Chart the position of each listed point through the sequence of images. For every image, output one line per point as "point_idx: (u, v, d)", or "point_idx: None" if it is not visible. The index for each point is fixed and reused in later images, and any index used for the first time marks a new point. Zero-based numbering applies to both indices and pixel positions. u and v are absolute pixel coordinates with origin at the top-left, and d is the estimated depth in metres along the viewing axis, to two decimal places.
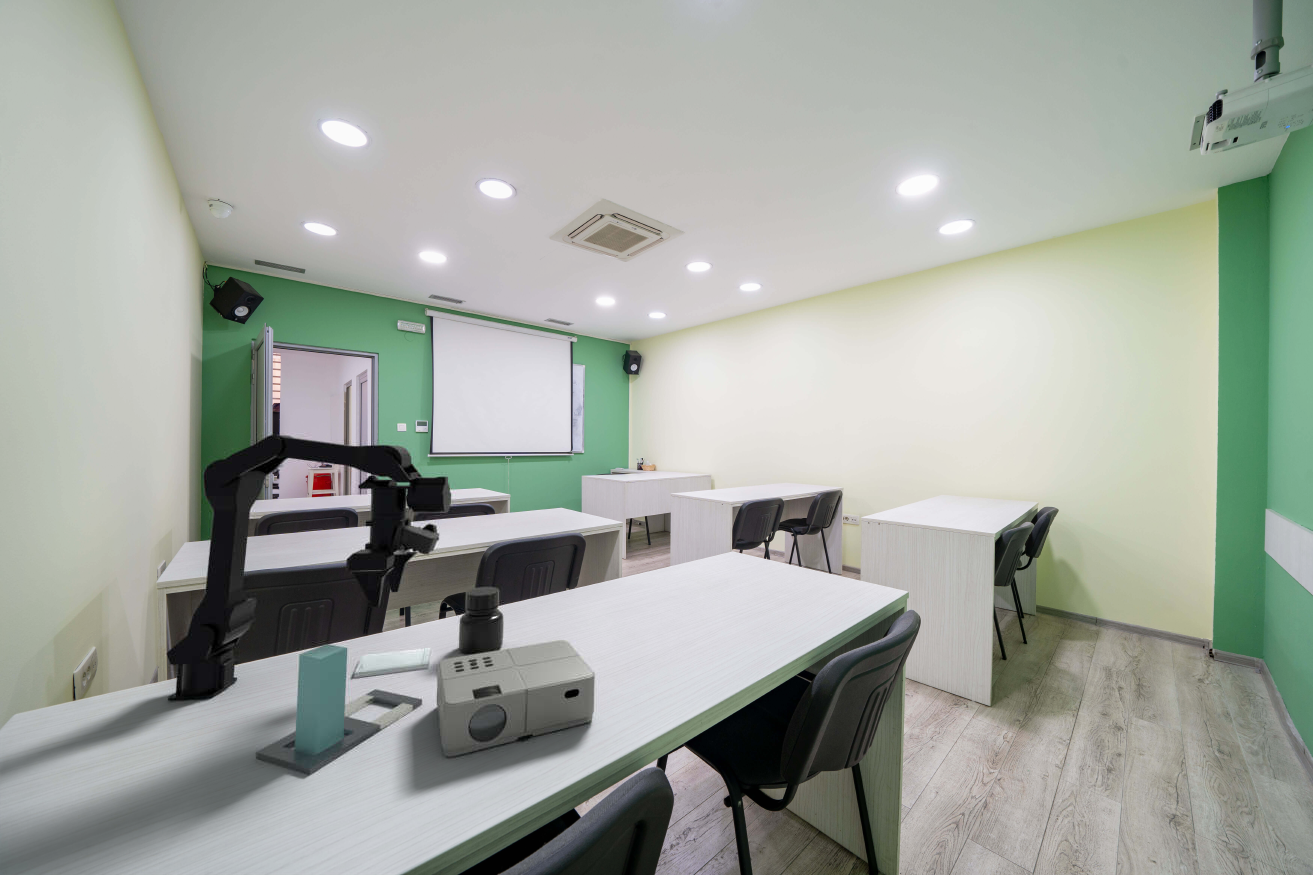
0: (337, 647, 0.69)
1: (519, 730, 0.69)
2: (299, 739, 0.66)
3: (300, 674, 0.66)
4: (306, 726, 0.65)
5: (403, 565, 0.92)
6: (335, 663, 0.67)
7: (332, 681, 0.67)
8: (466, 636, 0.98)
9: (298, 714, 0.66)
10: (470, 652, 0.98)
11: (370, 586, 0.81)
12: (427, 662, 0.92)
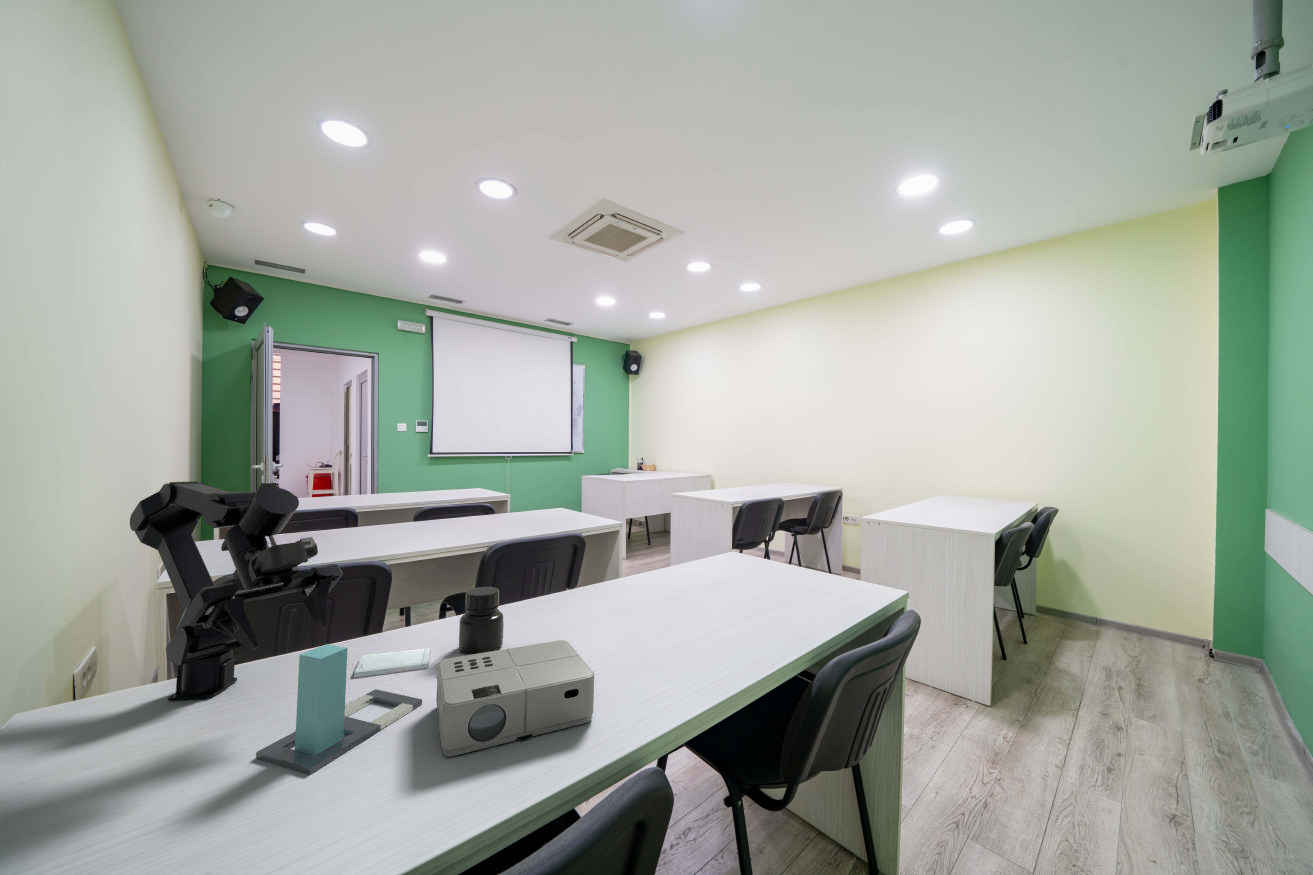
0: (337, 647, 0.69)
1: (518, 730, 0.69)
2: (299, 739, 0.66)
3: (300, 674, 0.66)
4: (306, 726, 0.65)
5: (317, 596, 0.77)
6: (335, 663, 0.67)
7: (332, 681, 0.67)
8: (466, 636, 0.98)
9: (298, 714, 0.66)
10: (470, 652, 0.98)
11: (234, 630, 0.68)
12: (427, 662, 0.92)
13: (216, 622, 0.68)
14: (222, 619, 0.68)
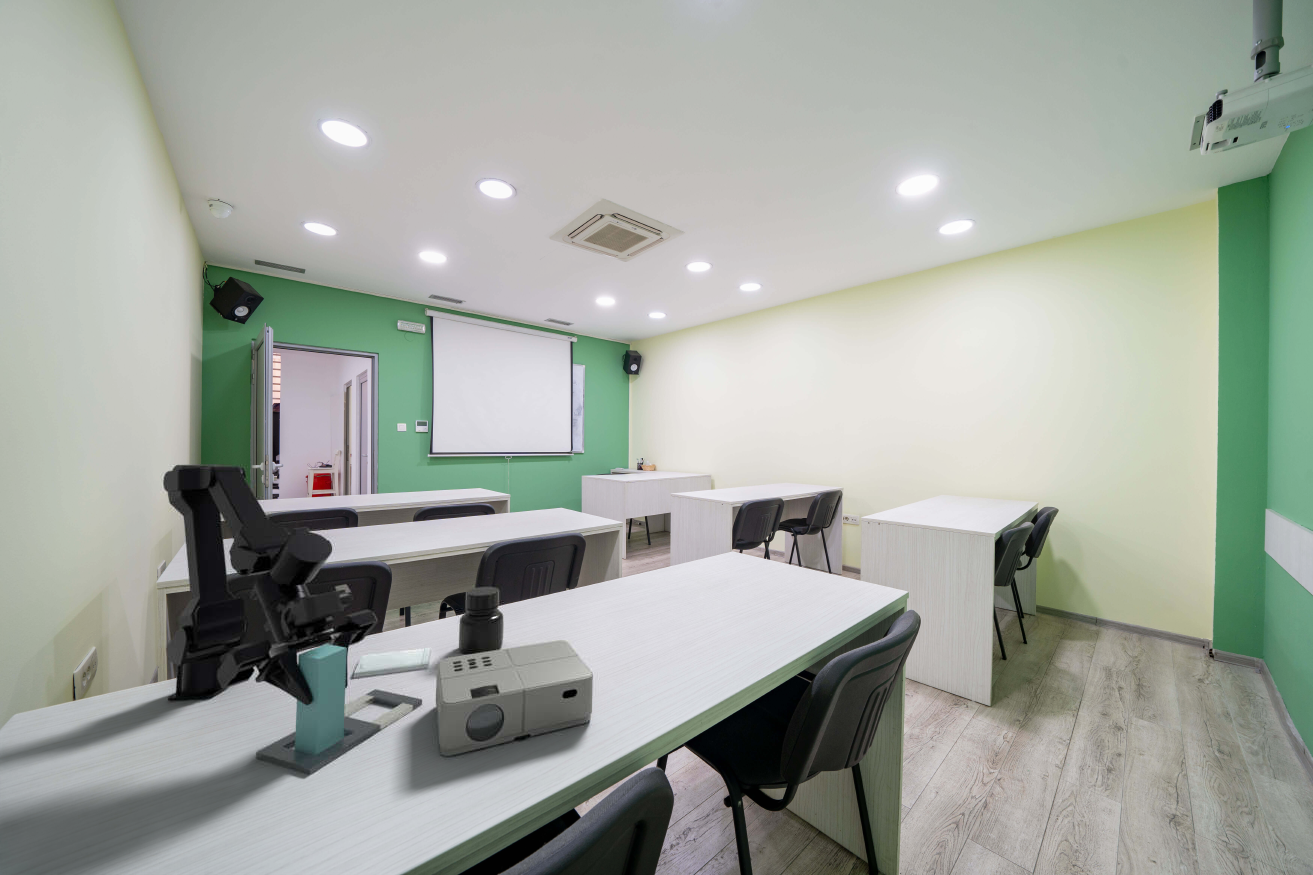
0: (336, 647, 0.69)
1: (516, 730, 0.69)
2: (299, 739, 0.66)
3: None
4: (306, 726, 0.65)
5: None
6: (334, 663, 0.67)
7: (331, 682, 0.67)
8: (466, 636, 0.98)
9: (297, 714, 0.66)
10: (470, 652, 0.98)
11: (288, 684, 0.65)
12: (427, 662, 0.92)
13: (269, 676, 0.65)
14: (275, 672, 0.66)
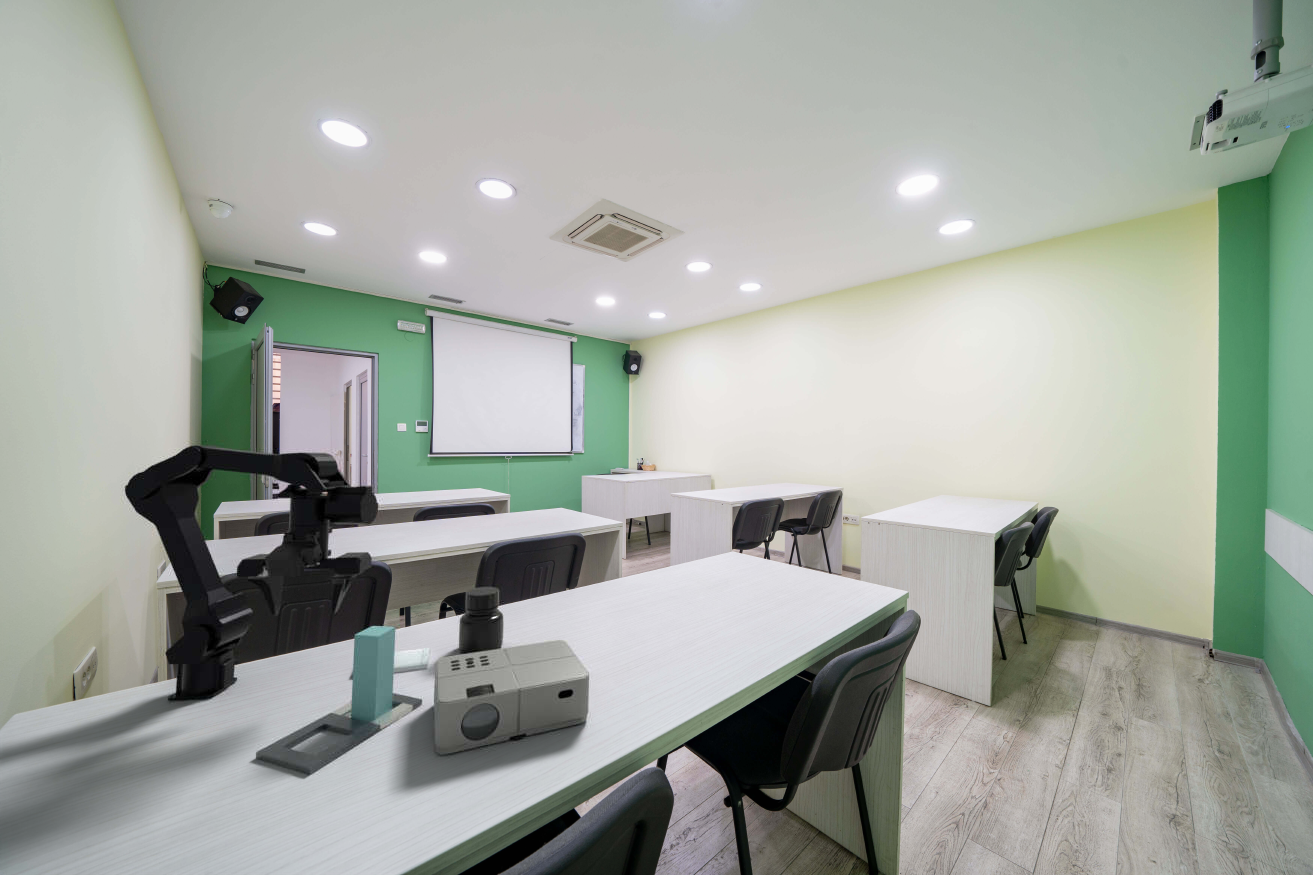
0: (385, 627, 0.77)
1: (512, 730, 0.69)
2: (356, 710, 0.73)
3: (355, 652, 0.74)
4: (363, 697, 0.73)
5: None
6: (387, 641, 0.76)
7: (385, 657, 0.75)
8: (466, 636, 0.98)
9: (353, 688, 0.74)
10: (470, 652, 0.98)
11: None
12: (426, 662, 0.92)
13: None
14: None
